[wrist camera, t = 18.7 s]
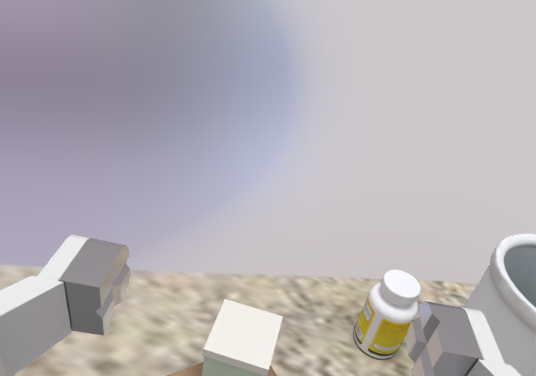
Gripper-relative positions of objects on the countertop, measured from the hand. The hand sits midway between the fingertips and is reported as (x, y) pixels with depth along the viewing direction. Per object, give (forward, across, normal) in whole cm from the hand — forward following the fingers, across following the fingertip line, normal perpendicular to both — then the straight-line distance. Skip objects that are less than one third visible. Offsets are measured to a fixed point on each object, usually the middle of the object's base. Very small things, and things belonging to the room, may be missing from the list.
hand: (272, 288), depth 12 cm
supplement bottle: (+25, -16, +32) cm, 44 cm away
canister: (+12, 0, +28) cm, 31 cm away
